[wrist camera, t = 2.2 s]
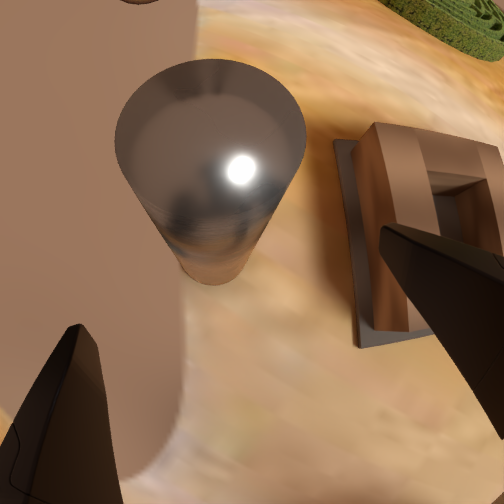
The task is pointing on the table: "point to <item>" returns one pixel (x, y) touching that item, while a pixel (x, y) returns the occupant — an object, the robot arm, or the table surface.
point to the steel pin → (210, 159)
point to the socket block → (413, 212)
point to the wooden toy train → (139, 1)
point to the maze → (458, 24)
